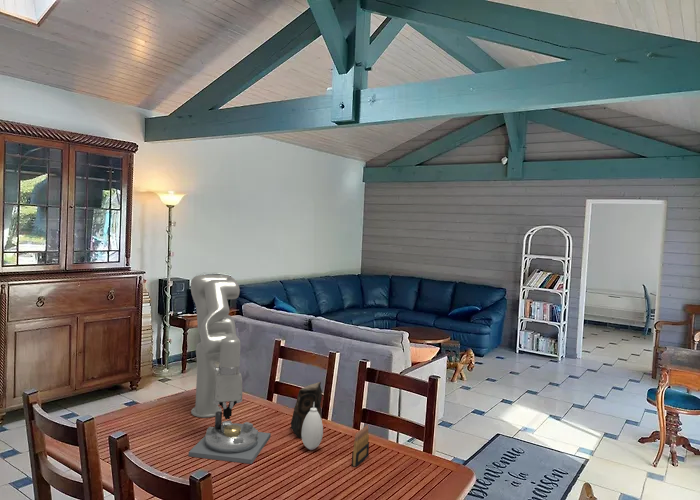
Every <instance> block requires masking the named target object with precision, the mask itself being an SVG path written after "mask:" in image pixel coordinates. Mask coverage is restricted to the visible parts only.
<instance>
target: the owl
mask: <svg viewBox="0 0 700 500" xmlns="http://www.w3.org/2000/svg"><path fill="white" fill-rule="evenodd" d="M321 385H322V382H321V381H318V382H315V383H311V384H309V385H306V386H304V387H302V388H300V389H299V390H298V393H297V397H296V403H295V405H294V408H293V412H292V417H291V421H290V429H291V430H292V432H293V434H294V435H295V436H296V438H297V439H301V440H302V436H301V432H302V425H303V422H304V419H305V417H306V415H307V414H308V412H309V411H310V408H313V403H314V408H317V411H318V413H319V415H320V417H321V418H322V415H323V414H322V410H323V409H322V407H321V405H322V404H321V403H322V398H323V390H322V386H321Z"/></svg>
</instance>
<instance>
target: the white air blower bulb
mask: <svg viewBox="0 0 700 500" xmlns="http://www.w3.org/2000/svg"><path fill="white" fill-rule="evenodd" d="M301 436H302V439H301V440H302V443H303V446H305V448H306V449H308V450H310V451H313V450H315V449H316V448H318V447H319V445H320V444H321V442H322V440H323V436H324V426H323V421H322V417H320V415H319V413H318V411H317V408H314V403H313V408H310V411H309V412H308V414H307V415H306V417H305V419H304V422H303V425H302V432H301Z"/></svg>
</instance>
